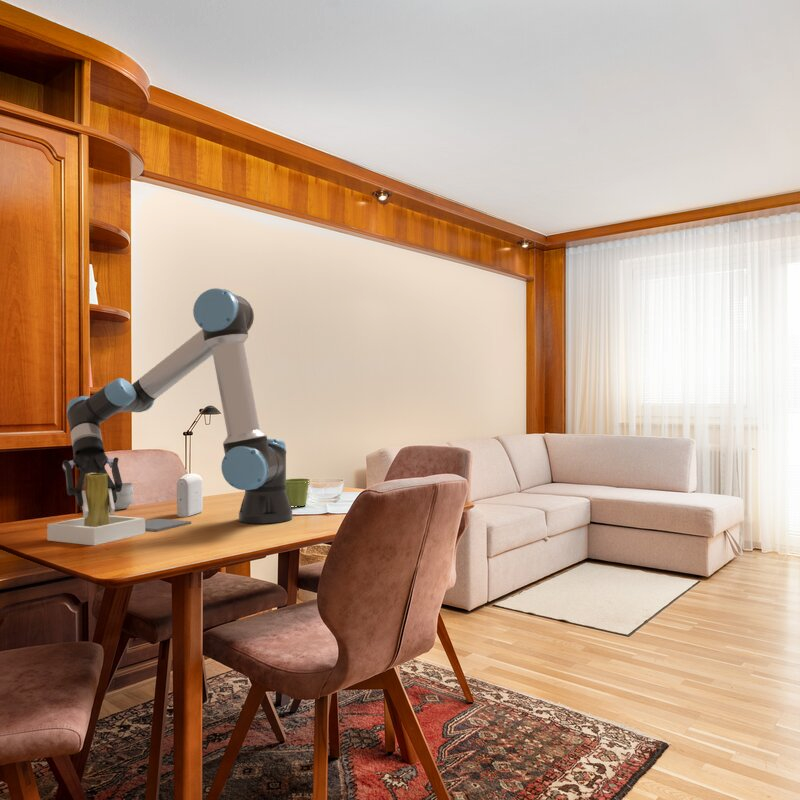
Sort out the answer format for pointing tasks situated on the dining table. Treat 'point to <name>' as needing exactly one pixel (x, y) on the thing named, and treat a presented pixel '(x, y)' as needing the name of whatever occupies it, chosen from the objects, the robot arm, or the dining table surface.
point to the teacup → (124, 496)
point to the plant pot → (297, 491)
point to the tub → (95, 530)
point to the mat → (163, 524)
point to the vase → (97, 499)
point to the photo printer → (189, 495)
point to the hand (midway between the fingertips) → (99, 513)
